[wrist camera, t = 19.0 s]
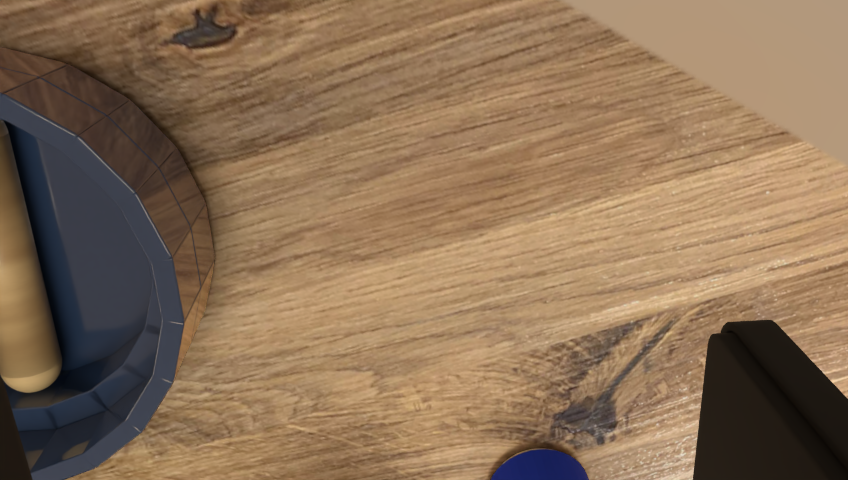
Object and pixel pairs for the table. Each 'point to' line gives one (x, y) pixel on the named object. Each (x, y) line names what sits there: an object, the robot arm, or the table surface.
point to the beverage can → (540, 466)
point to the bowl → (102, 259)
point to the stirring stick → (22, 290)
